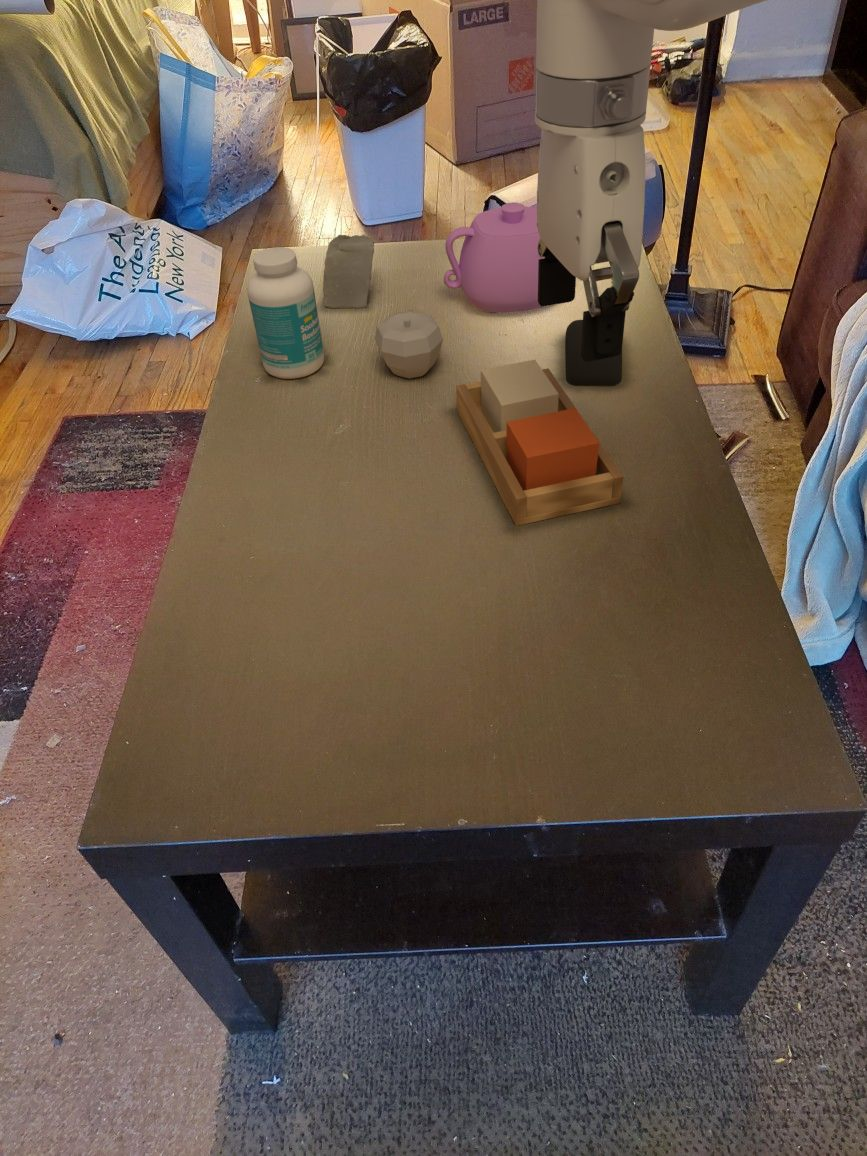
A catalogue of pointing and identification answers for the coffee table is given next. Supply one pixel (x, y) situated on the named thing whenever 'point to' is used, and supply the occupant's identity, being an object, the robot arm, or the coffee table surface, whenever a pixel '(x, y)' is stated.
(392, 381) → the coffee table surface
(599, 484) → the holder
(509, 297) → the teapot
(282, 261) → the pill bottle
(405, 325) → the apple
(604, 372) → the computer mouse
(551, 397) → the beige block
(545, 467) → the orange block
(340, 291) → the mineral specimen
